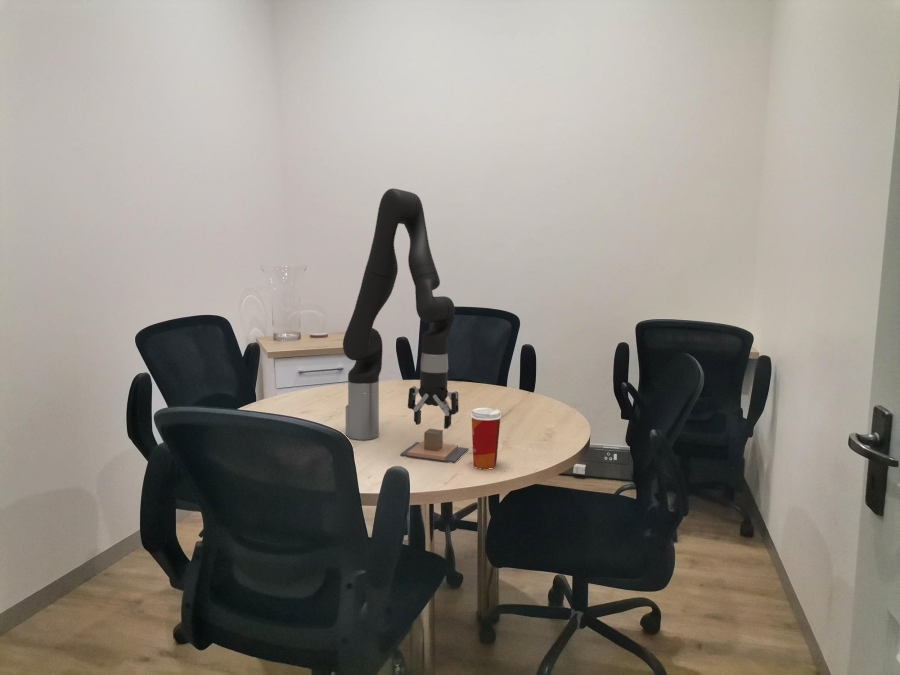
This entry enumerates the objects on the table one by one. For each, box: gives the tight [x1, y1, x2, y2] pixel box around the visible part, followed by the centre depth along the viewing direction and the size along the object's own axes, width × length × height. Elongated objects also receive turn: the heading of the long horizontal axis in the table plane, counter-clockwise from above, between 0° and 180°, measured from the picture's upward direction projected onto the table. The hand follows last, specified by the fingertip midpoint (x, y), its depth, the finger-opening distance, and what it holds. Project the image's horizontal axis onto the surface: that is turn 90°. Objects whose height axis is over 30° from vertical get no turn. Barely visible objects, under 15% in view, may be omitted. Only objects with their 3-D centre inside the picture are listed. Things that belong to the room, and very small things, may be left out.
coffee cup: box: [469, 407, 502, 470], centre depth 163 cm, size 8×8×15 cm
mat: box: [399, 441, 469, 464], centre depth 174 cm, size 16×12×1 cm
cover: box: [408, 428, 459, 460], centre depth 172 cm, size 11×11×6 cm
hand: (432, 426), depth 171 cm, fingers open, 8 cm apart
